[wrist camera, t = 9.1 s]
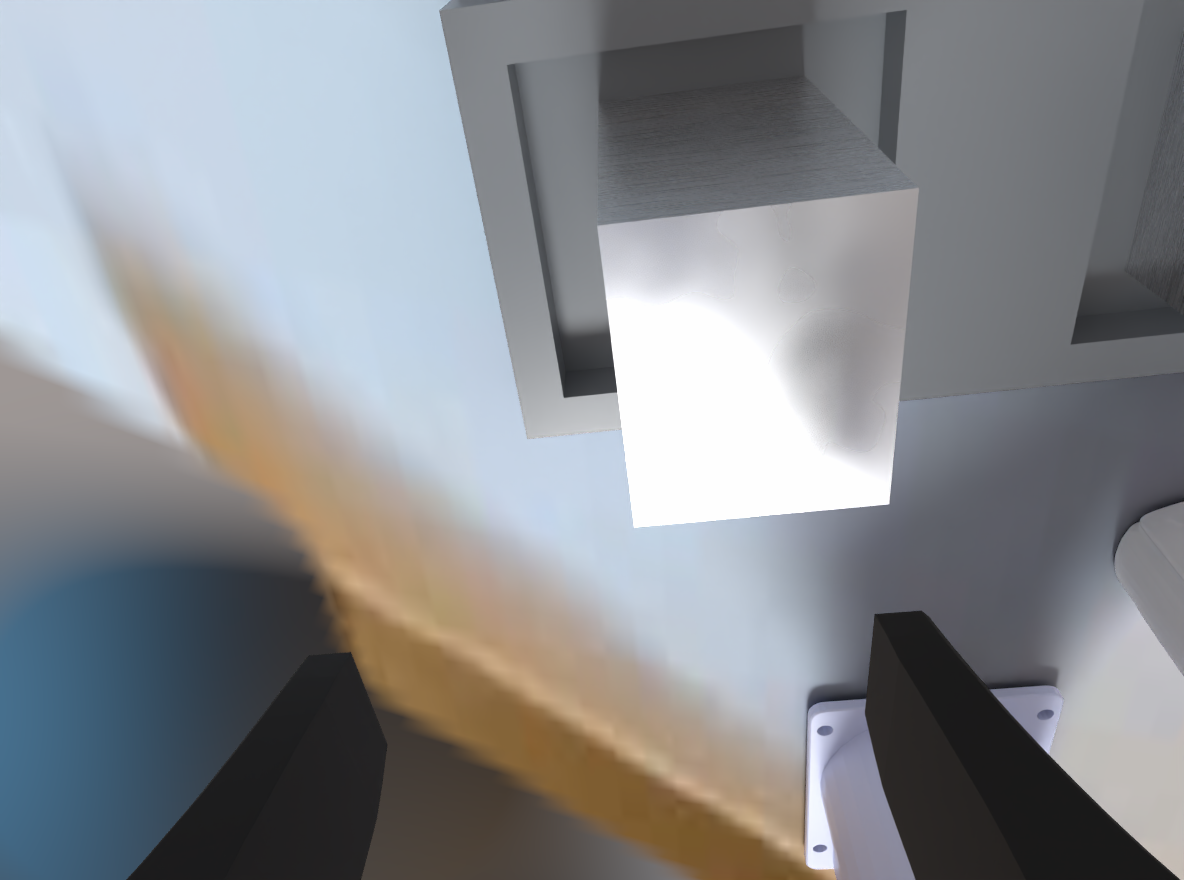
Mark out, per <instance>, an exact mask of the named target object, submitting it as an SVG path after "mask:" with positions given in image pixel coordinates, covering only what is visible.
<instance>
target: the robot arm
mask: <svg viewBox="0 0 1184 880" xmlns="http://www.w3.org/2000/svg"><path fill="white" fill-rule="evenodd" d="M1063 703H1064V698H1063V697H1062V695H1061V693H1060V691H1059V690H1058V689H1057V688H1056V687H1054V686H1047V685H1043V686H1030V687H1017V688H1003V689H990V690H989V689H988V688H987V686H986V685H985V684H984V683H983V682H982V681H981V679H980V678H979V677H978V676H977V675H976V674H975V673H974V671H973V670H972V669H971V668H970V667H969V665H968V664H967V663H966V662H965V661H964V659H963V658H962V657H961V656H960V655H959V653H958V652H957V651H956V650H955V649H954V647H953V646H952V645H951V644H950V642H949V641H948V640H947V639H946V638H945V636H944V635H943V634H942V633H941V631H940V630H939V629H938V628H937V626H936V625H935V624H934V623H933V621H932V620H931V619H930V618H929V616H927V615H926V614H925V613H924V612H922V611H913V612H899V613H885V614H875V617H874V627H873V637H872V647H871V657H870V667H869V676H868V686H867V696H866V699H856V700H843V701H830V702H821V703H817V704H815V705H813V706H812V707H811V708H810V709H809V711H808V726H807V766H806V806H805V847H804V856H805V861H806V864H807V866H809V867H810V868H813V869H833V868H834V870H835V875H836V879H837V880H1180V879H1179V878H1178V877H1177V876H1175V875H1174V874H1173V873H1172V872H1171V871H1170V870H1169V869H1167V868H1166V867H1165V866H1164V865H1163V864H1162V863H1161V862H1159V861H1158V860H1157V859H1156V858H1155V857H1154V856H1153V855H1151V854H1150V853H1149V852H1148V851H1147V850H1146V849H1145V848H1144V847H1143V846H1142V845H1141V844H1139V843H1138V842H1137V841H1136V840H1135V839H1134V838H1133V837H1132V836H1131V835H1130V834H1129V833H1128V832H1126V831H1125V830H1124V829H1123V828H1122V827H1121V826H1120V825H1119V824H1118V823H1117V822H1116V821H1115V820H1114V819H1113V818H1112V817H1111V816H1109V815H1108V814H1107V813H1106V812H1105V811H1104V810H1103V809H1102V808H1101V807H1100V806H1099V805H1098V804H1097V803H1096V802H1095V801H1094V800H1093V799H1092V798H1091V797H1090V796H1089V795H1088V794H1087V793H1086V792H1085V791H1084V790H1083V789H1082V788H1081V787H1080V786H1079V785H1078V784H1077V783H1076V782H1075V781H1074V780H1073V779H1072V778H1071V777H1070V776H1069V775H1068V774H1067V773H1066V772H1065V771H1064V770H1063V769H1062V768H1061V767H1060V766H1059V765H1058V764H1057V763H1056V762H1055V761H1054V760H1053V759H1052V758H1051V757H1050V756H1049V752H1050V749H1051V745H1052V742H1053V738H1054V735H1055V731H1056V728H1057V724H1058V720H1059V717H1060V713H1061V710H1062V706H1063ZM386 751H387V742H386V740H385V737H384V735H383V732H382V729H381V727H380V724H379V722H378V719H377V717H376V714H375V712H374V709H373V707H372V704H371V702H370V699H369V697H368V694H367V692H366V689H365V687H364V684H363V682H362V679H361V677H360V674H359V672H358V669H357V667H356V664H355V662H354V659H353V657H352V654H351V652H349V653H335V654H322V655H309V656H308V657H307V658H306V659H305V660H304V662H303V663H302V664H301V665H300V667H299V668H298V669H297V671H296V672H295V673H294V674H293V676H292V677H291V678H290V680H289V681H288V682H287V684H286V685H285V686H284V687H283V689H282V690H281V691H280V693H279V694H278V695H277V697H276V698H275V699H274V701H273V702H272V703H271V705H270V706H269V707H268V709H267V710H266V711H265V713H264V714H263V715H262V717H261V718H260V719H259V721H258V722H257V723H256V724H255V726H254V727H253V728H252V730H251V731H250V732H249V733H248V735H247V736H246V738H245V739H244V740H243V741H242V743H241V744H240V745H239V747H238V748H237V749H236V750H235V752H234V753H233V754H232V755H231V757H230V758H229V759H228V760H227V762H226V763H225V764H224V765H223V767H222V768H221V769H220V770H219V772H218V773H217V774H216V775H215V777H214V778H213V779H212V780H211V782H210V783H209V784H208V785H207V787H206V788H205V789H204V791H203V792H202V793H201V794H200V795H199V797H198V798H197V799H196V800H195V801H194V803H193V804H192V805H191V806H190V807H189V809H188V810H187V811H186V812H185V813H184V814H183V816H182V817H181V818H180V819H179V820H178V821H177V823H176V824H175V825H174V826H173V827H172V828H171V830H170V831H169V832H168V833H167V834H166V835H165V837H164V838H163V839H162V840H161V841H160V842H159V844H158V845H157V846H156V847H155V848H154V849H153V850H152V852H151V853H150V854H149V855H148V856H147V857H146V859H145V860H144V861H143V862H142V863H141V864H140V865H139V866H138V868H137V869H136V870H135V871H134V872H133V873H132V874H131V875H130V876H129V877H128V879H127V880H361V877H362V873H363V870H364V866H365V862H366V859H367V855H368V851H369V847H370V843H371V839H372V835H373V832H374V828H375V824H376V820H377V814H378V808H379V802H380V795H381V789H382V781H383V773H384V767H385V759H386Z"/></svg>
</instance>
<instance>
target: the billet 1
mask: <svg viewBox="0 0 1184 880" xmlns="http://www.w3.org/2000/svg"><path fill="white" fill-rule="evenodd" d="M918 193H919V187H918V186H917V185H916V184H915V183H914V182H912V181H911V180H910V179H909V178H908V177H907V176H906V175H905V174H904V173H903V172H902V171H901V170H900V169H899V168H898V167H897V166H896V165H895V164H894V163H893V162H892V161H891V160H890V159H889V158H888V157H887V156H886V155H885V154H884V153H883V152H882V151H881V150H880V149H879V148H878V147H877V146H876V145H875V144H874V143H873V142H872V141H871V140H870V139H869V138H868V137H867V136H866V135H865V134H864V133H863V132H862V131H861V130H860V129H859V128H858V127H857V126H856V125H855V124H854V123H853V122H852V121H851V120H850V119H848V118H847V117H846V116H845V115H844V114H843V113H842V112H841V111H840V110H839V109H838V108H837V107H836V106H835V105H834V104H833V103H832V102H831V101H830V100H829V99H828V98H827V97H826V96H825V95H824V94H823V93H822V92H821V91H820V90H819V89H818V88H817V87H816V86H815V85H814V84H813V83H812V82H811V81H810V80H809V79H808V78H807V77H806V76H805V75H803V76H795V77H787V78H780V79H772V80H764V81H756V82H749V83H741V84H733V85H725V86H718V87H710V88H702V89H694V90H686V91H679V92H671V93H663V94H655V95H648V96H640V97H632V98H624V99H617V100H609V101H601V102H598V191H597V229H598V237H599V245H600V253H601V261H602V269H603V277H604V285H605V293H606V301H607V309H608V317H609V325H610V333H611V342H612V350H613V358H614V366H615V374H616V382H617V390H618V398H619V406H620V414H621V422H622V430H623V438H624V446H625V455H626V463H627V471H628V479H629V487H630V495H631V503H632V511H633V519H634V527H641V526H653V525H664V524H675V523H686V522H697V521H708V520H720V519H731V518H742V517H753V516H764V515H775V514H787V513H798V512H809V511H820V510H831V509H842V508H854V507H865V506H876V505H887V504H889V501H890V490H891V480H892V469H893V459H894V448H895V437H896V427H897V416H898V406H899V395H900V384H901V374H902V363H903V353H904V342H905V331H906V321H907V310H908V300H909V289H910V278H911V268H912V257H913V246H914V236H915V225H916V215H917V204H918Z"/></svg>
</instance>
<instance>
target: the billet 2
mask: <svg viewBox="0 0 1184 880" xmlns="http://www.w3.org/2000/svg"><path fill="white" fill-rule="evenodd" d="M1125 272H1127V273H1128V274H1129V275H1131V276H1132V277H1133V278H1135V279H1136V280H1137V281H1139V282H1140V283H1141V284H1143V285H1144V286H1145V287H1147V288H1148V289H1149V290H1150V291H1152V292H1153V293H1154V294H1156V295H1157V296H1158V297H1160V298H1161V299H1162V300H1164V301H1165V302H1166V303H1168V304H1169V305H1170V306H1172V307H1173V308H1174V309H1176V310H1177V311H1178V312H1180V313H1181V314H1182V315H1184V28H1183V33H1182V37H1181V41H1180V45H1179V49H1178V53H1177V57H1176V62H1175V66H1174V70H1173V74H1172V78H1171V82H1170V86H1169V91H1168V95H1167V99H1166V103H1165V107H1164V111H1163V115H1162V120H1161V124H1160V128H1159V132H1158V136H1157V140H1156V144H1155V149H1154V153H1153V157H1152V161H1151V165H1150V169H1149V173H1148V178H1147V182H1146V186H1145V190H1144V194H1143V198H1142V202H1141V207H1140V211H1139V215H1138V219H1137V223H1136V227H1135V231H1134V236H1133V240H1132V244H1131V248H1130V252H1129V256H1128V260H1127V265H1126V269H1125Z"/></svg>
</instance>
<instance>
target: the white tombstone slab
mask: <svg viewBox="0 0 1184 880" xmlns="http://www.w3.org/2000/svg"><path fill="white" fill-rule="evenodd" d="M1115 572H1116V575H1117V578H1118V580H1119V581H1120V583H1121V584H1122V586H1123V587H1124V589H1125V590H1126V592H1127V593H1128V594H1129V596H1130V597H1131V599H1132V600H1133V602H1134V603H1135V605H1136V606H1137V608H1138V610H1139V611H1140V613H1141V615H1142V616H1143V618H1144V620H1145V621H1146V623H1147V624H1148V626H1149V627H1150V629H1151V630H1152V632H1153V633H1154V634H1155V636H1156V637H1157V639H1158V640H1159V642H1160V643H1161V645H1162V646H1163V647H1164V649H1165V650H1166V652H1167V654H1168V655H1169V656H1170V658H1171V659H1172V660H1173V662H1174V663H1175V665H1176V666H1177V668H1178V669H1179V670H1180V672H1181V673H1182V675H1183V676H1184V501H1183V502H1180V503H1177V504H1173V505H1170V506H1167V507H1164V508H1161V509H1158V510H1155V511H1153V512H1150V513H1148V514H1146V515H1144V516H1143V517H1142V518H1141V519H1140V522H1137V523H1135V524H1133V525H1132V526H1131V527H1130V528H1129V529H1128V530H1127V532H1126V533H1125V535H1124V536H1123V537H1122V539H1121V541H1120V543H1119V546H1118V549H1117V552H1116V555H1115Z"/></svg>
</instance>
